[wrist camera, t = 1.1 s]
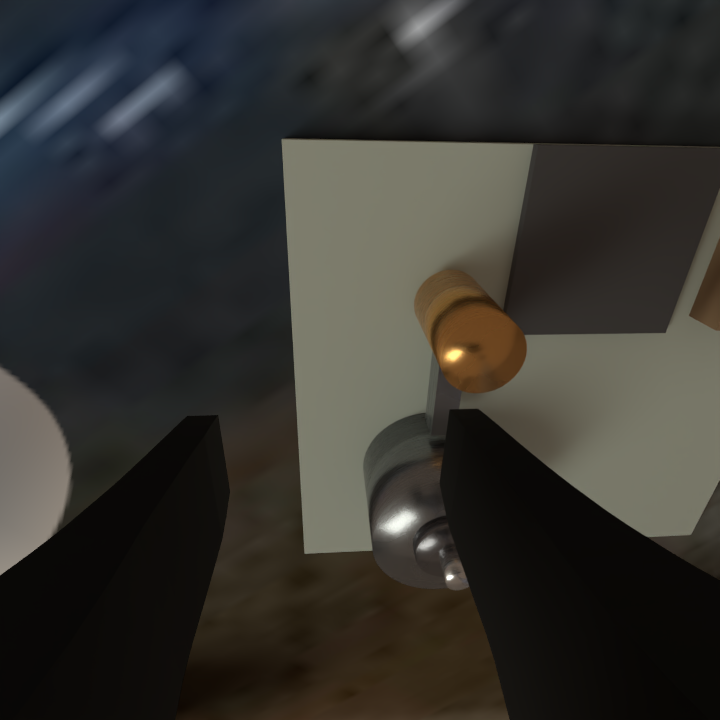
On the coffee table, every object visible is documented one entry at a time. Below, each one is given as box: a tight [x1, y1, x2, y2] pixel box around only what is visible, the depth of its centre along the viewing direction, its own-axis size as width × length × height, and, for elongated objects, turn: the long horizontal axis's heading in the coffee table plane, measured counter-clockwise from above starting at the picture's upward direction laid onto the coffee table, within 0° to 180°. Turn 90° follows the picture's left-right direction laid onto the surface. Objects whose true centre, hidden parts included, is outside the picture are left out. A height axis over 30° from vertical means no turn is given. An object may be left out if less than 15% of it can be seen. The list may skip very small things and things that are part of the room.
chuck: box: [363, 413, 469, 590], centre depth 19 cm, size 6×6×6 cm
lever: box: [414, 270, 527, 436], centre depth 16 cm, size 6×3×4 cm, turn 179°
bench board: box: [282, 138, 720, 554], centre depth 21 cm, size 20×22×1 cm
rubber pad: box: [503, 144, 720, 335], centre depth 17 cm, size 7×7×1 cm
